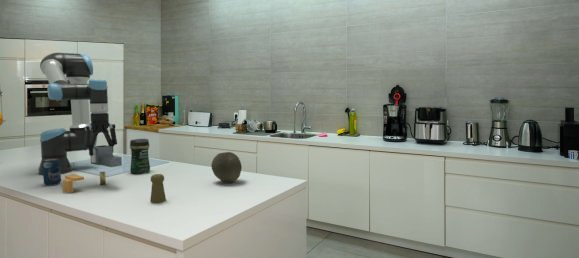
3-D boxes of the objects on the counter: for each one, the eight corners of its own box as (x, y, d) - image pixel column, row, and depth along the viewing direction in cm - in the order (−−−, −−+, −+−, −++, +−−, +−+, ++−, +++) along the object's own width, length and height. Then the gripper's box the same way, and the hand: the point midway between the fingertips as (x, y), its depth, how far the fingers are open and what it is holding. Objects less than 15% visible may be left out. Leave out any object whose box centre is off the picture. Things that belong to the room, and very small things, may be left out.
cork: (160, 197, 152) (159, 172, 151) (169, 200, 148) (168, 174, 147) (147, 201, 147) (146, 174, 146) (156, 204, 144) (155, 176, 142)
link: (123, 165, 167) (123, 148, 166) (108, 167, 161) (108, 149, 161) (105, 161, 176) (104, 145, 176) (90, 163, 171) (89, 146, 170)
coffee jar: (136, 175, 192) (134, 140, 190) (128, 173, 197) (126, 139, 195) (152, 172, 199) (151, 138, 197) (145, 170, 204) (143, 137, 202)
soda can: (51, 186, 168) (49, 161, 167) (40, 185, 170) (38, 160, 169) (64, 183, 175) (63, 158, 174) (53, 181, 177) (52, 157, 176)
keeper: (61, 190, 162) (60, 176, 161) (75, 187, 167) (74, 174, 166) (70, 193, 157) (69, 179, 156) (84, 190, 162) (83, 176, 161)
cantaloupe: (230, 177, 188) (230, 148, 186) (247, 182, 178) (247, 152, 176) (206, 182, 178) (206, 152, 176) (223, 187, 168) (222, 155, 166)
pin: (99, 184, 173) (98, 172, 172) (104, 183, 174) (103, 171, 174) (101, 185, 171) (101, 172, 171) (106, 184, 173) (106, 171, 172)
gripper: (80, 114, 159) (83, 165, 161) (124, 111, 175) (126, 158, 177) (72, 113, 163) (75, 163, 166) (115, 111, 179) (118, 157, 182)
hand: (101, 161), depth 172 cm, fingers closed on link, 7 cm apart
